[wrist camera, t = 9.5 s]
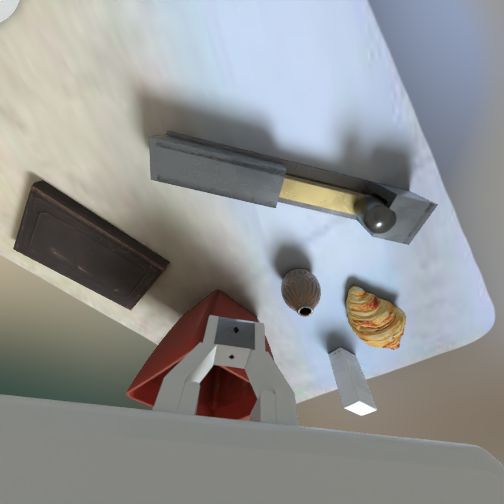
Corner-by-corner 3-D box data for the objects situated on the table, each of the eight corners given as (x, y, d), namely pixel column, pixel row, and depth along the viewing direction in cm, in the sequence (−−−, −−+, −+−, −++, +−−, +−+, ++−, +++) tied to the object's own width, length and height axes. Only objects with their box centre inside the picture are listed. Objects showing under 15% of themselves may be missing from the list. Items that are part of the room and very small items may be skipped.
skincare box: (327, 353, 54) (342, 408, 44) (340, 346, 52) (359, 400, 42) (343, 362, 56) (361, 416, 45) (356, 355, 54) (378, 410, 44)
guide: (165, 175, 32) (147, 185, 27) (165, 130, 29) (144, 132, 24) (387, 226, 35) (408, 244, 30) (409, 191, 31) (437, 204, 26)
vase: (285, 260, 39) (290, 292, 32) (320, 266, 39) (334, 300, 32) (276, 287, 43) (279, 322, 35) (309, 292, 43) (318, 328, 36)
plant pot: (280, 320, 48) (287, 404, 34) (224, 352, 55) (211, 432, 41) (217, 270, 41) (193, 350, 27) (163, 314, 49) (122, 395, 34)
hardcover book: (136, 302, 48) (130, 310, 46) (24, 242, 40) (12, 249, 38) (171, 260, 41) (166, 267, 39) (45, 179, 34) (32, 182, 32)
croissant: (331, 278, 45) (323, 310, 41) (382, 271, 38) (379, 309, 33) (373, 331, 53) (371, 363, 49) (422, 333, 46) (425, 371, 41)
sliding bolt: (242, 185, 31) (237, 202, 25) (247, 162, 29) (242, 174, 23) (380, 217, 33) (408, 241, 26) (391, 198, 31) (424, 218, 25)
